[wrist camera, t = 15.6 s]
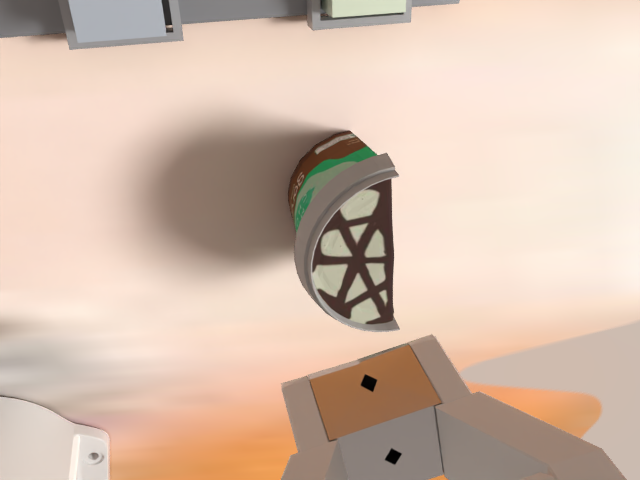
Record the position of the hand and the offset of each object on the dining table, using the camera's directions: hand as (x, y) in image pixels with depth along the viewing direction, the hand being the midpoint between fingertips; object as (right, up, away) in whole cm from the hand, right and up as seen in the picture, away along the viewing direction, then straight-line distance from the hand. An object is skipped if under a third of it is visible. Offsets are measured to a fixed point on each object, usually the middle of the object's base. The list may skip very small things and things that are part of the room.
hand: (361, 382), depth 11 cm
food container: (-1, +6, +34) cm, 34 cm away
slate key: (-12, +16, +21) cm, 29 cm away
